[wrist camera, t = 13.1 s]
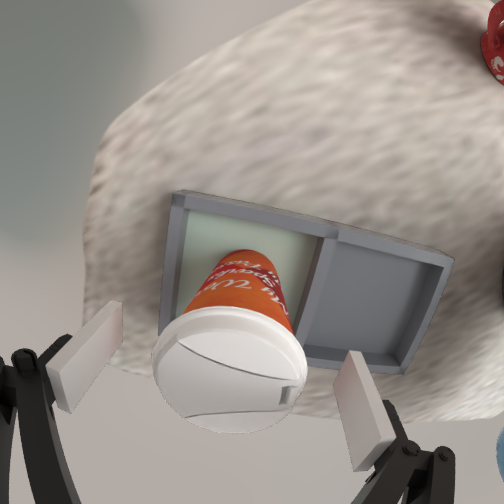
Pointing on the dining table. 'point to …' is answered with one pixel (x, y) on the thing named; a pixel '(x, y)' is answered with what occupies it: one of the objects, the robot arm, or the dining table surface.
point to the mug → (495, 41)
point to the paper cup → (232, 350)
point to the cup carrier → (312, 277)
